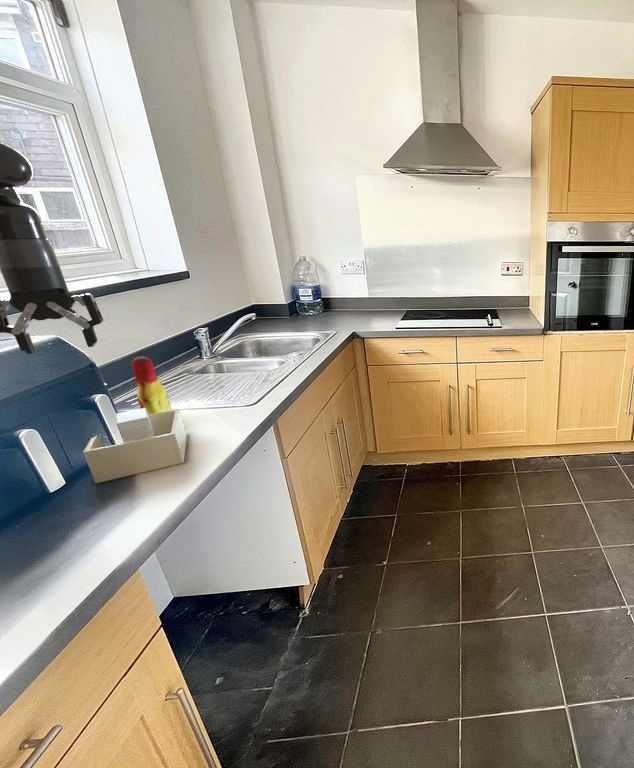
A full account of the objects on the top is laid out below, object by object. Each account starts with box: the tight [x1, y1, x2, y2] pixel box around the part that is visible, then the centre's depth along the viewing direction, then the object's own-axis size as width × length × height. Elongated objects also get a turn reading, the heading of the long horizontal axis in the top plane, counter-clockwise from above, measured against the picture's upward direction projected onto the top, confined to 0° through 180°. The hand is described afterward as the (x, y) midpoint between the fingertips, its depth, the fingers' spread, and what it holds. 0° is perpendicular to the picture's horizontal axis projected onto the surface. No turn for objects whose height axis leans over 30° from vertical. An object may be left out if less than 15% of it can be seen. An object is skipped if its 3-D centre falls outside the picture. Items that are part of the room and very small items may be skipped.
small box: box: [115, 408, 155, 443], centre depth 100 cm, size 8×6×10 cm
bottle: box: [131, 356, 172, 415], centre depth 117 cm, size 12×6×20 cm, turn 30°
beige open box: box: [82, 408, 188, 484], centre depth 101 cm, size 16×18×8 cm
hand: (62, 349), depth 82 cm, fingers open, 8 cm apart
